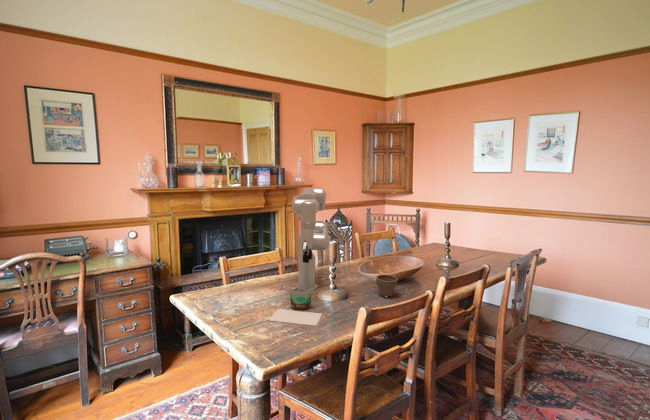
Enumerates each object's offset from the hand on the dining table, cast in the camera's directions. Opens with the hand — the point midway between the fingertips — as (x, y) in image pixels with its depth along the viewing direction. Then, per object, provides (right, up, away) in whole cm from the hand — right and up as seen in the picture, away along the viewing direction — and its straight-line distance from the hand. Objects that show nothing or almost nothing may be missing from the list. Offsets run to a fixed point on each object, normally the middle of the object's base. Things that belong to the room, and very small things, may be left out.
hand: (307, 260), depth 182 cm
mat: (-4, -24, -17) cm, 30 cm away
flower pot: (+42, -21, +14) cm, 49 cm away
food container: (-2, -23, -7) cm, 24 cm away
